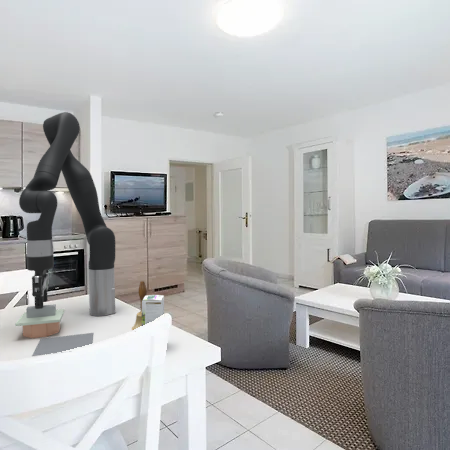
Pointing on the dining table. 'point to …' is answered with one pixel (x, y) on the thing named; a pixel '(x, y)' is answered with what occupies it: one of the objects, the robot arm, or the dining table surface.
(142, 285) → the hand bell
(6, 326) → the dining table surface
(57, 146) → the robot arm
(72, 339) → the mat
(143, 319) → the syrup box
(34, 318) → the cover sheet
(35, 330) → the bowl
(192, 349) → the dining table surface
